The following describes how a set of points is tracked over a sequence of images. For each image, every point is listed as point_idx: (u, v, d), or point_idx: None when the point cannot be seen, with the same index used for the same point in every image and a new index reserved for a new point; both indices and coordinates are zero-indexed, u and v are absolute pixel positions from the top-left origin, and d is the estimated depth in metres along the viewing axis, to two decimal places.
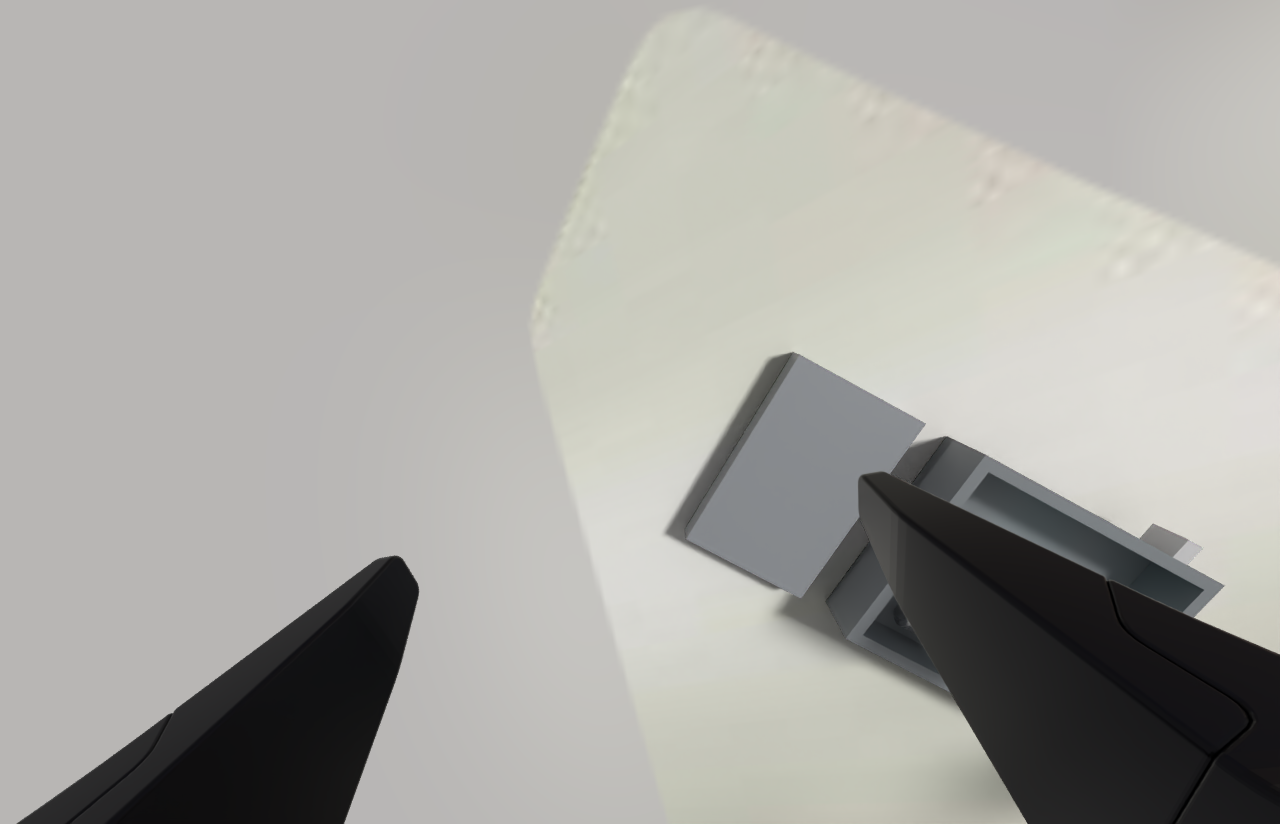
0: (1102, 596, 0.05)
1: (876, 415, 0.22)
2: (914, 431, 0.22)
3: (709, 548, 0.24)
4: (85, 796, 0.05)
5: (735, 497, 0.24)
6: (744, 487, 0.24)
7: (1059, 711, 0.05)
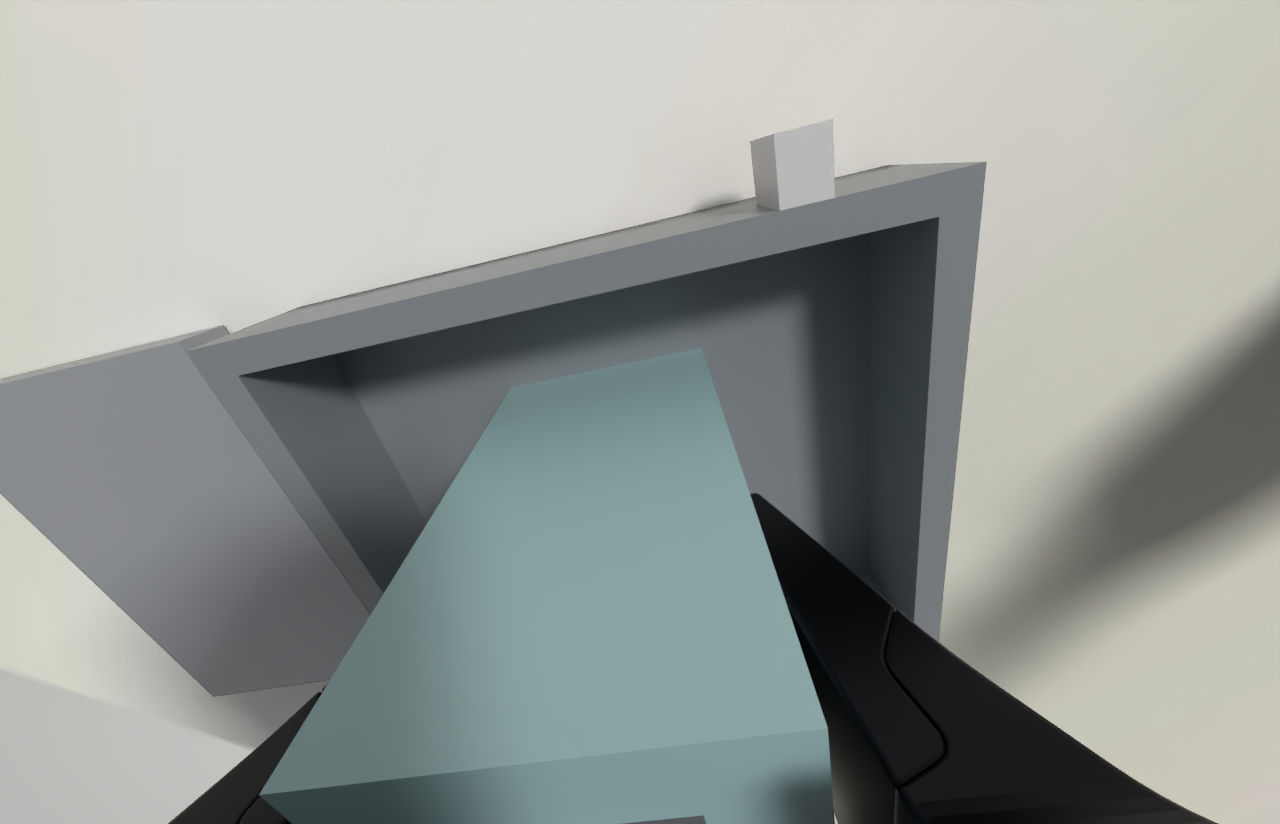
0: (880, 627, 0.05)
1: (114, 395, 0.10)
2: (184, 369, 0.10)
3: (245, 688, 0.15)
4: (260, 775, 0.05)
5: (174, 625, 0.14)
6: (162, 609, 0.14)
7: (837, 737, 0.05)
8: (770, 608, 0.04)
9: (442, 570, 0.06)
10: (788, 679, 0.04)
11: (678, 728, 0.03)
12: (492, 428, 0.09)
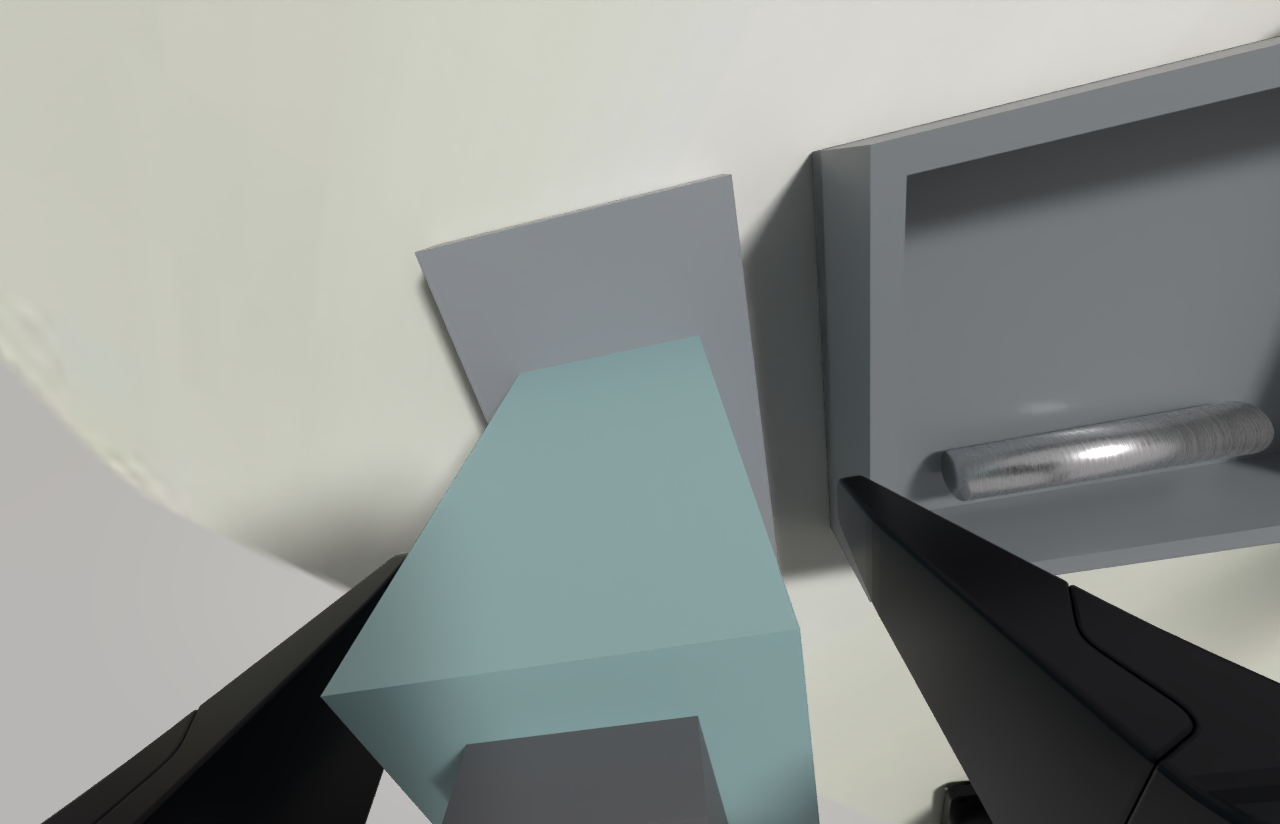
0: (1062, 601, 0.05)
1: (633, 239, 0.10)
2: (723, 206, 0.10)
3: None
4: (114, 793, 0.05)
5: None
6: None
7: (1019, 716, 0.05)
8: (755, 544, 0.05)
9: (465, 525, 0.06)
10: (768, 596, 0.04)
11: (675, 634, 0.04)
12: (504, 408, 0.10)
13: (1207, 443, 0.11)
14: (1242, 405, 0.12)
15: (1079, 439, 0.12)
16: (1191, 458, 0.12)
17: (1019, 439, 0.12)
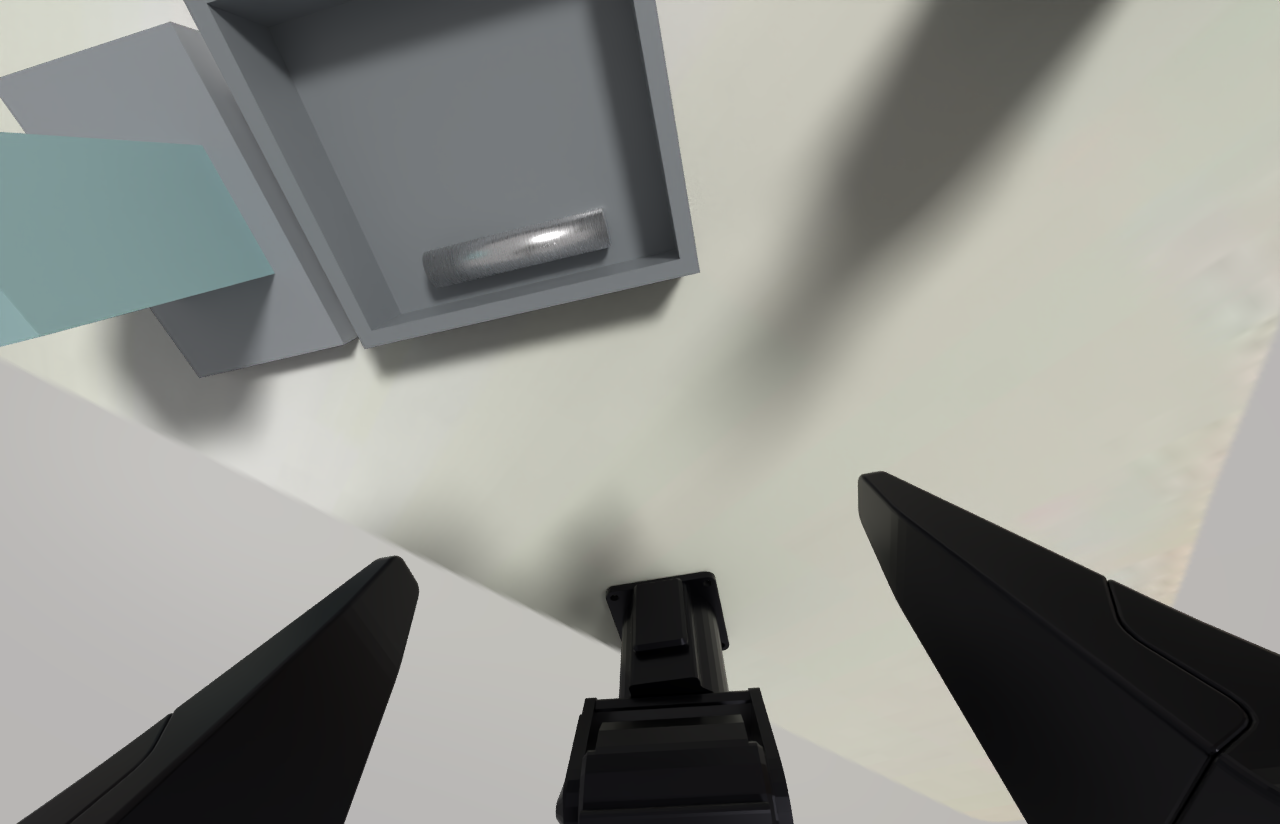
0: (1102, 596, 0.05)
1: (127, 70, 0.15)
2: (174, 45, 0.15)
3: (223, 368, 0.20)
4: (85, 796, 0.05)
5: None
6: None
7: (1059, 711, 0.05)
8: None
9: None
10: None
11: None
12: None
13: (568, 241, 0.17)
14: (602, 211, 0.17)
15: (495, 240, 0.17)
16: (563, 251, 0.17)
17: (466, 241, 0.18)
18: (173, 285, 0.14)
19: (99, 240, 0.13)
